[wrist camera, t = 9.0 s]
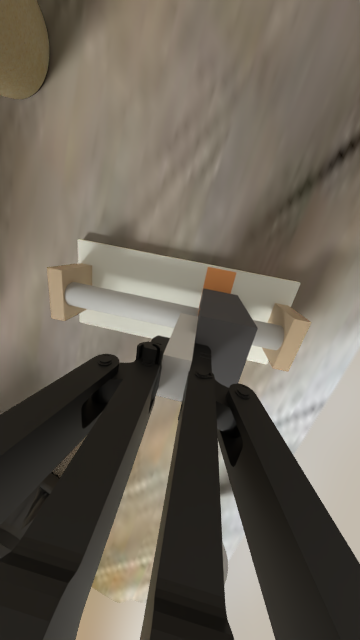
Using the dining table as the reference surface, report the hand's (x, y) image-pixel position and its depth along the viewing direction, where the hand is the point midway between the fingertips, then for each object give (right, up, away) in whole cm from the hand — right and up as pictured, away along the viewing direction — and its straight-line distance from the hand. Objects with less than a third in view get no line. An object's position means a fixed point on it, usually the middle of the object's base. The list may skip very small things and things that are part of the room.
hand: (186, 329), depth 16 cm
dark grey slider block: (+3, +1, +5) cm, 6 cm away
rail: (-1, +3, +7) cm, 7 cm away
